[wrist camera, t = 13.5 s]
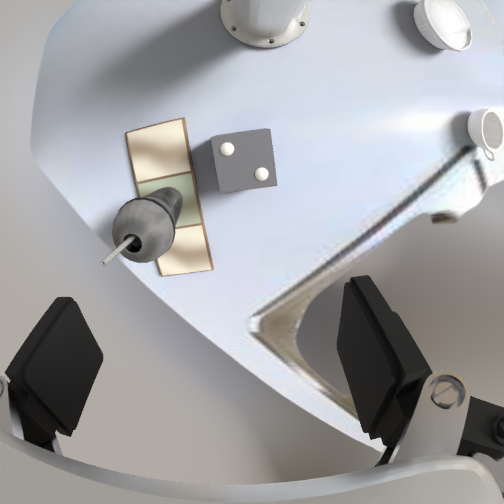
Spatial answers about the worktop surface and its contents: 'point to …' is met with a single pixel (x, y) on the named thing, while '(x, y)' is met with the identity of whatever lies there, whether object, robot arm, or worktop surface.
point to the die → (244, 160)
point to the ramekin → (443, 24)
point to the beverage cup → (146, 226)
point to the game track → (176, 176)
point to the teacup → (486, 130)
